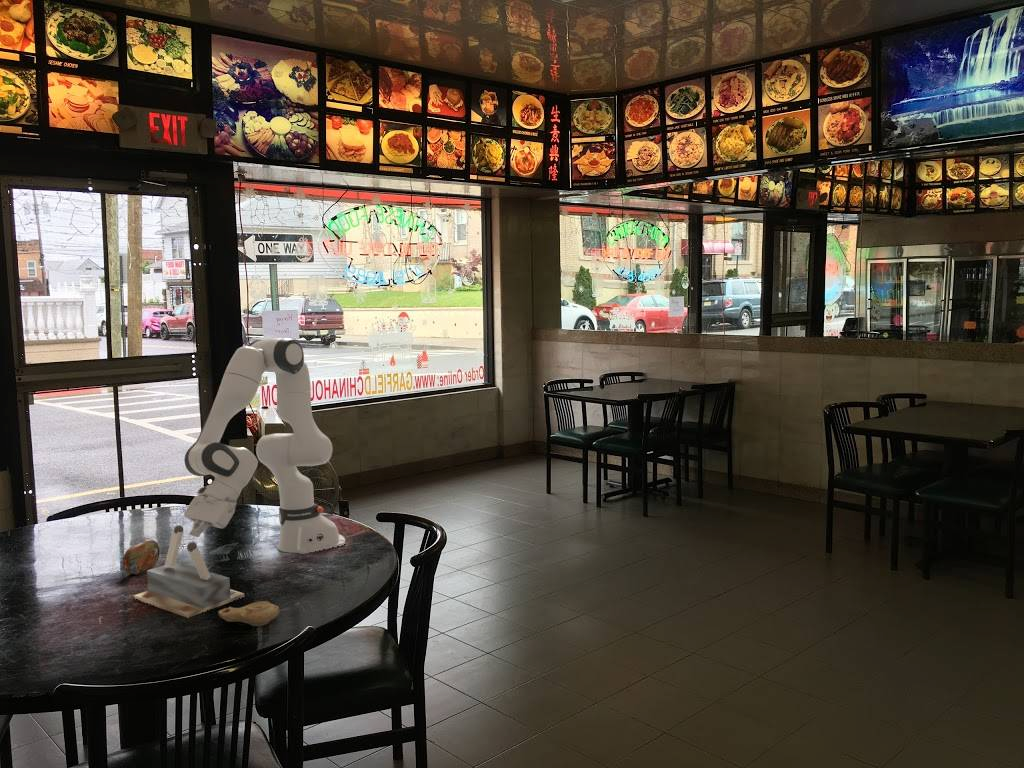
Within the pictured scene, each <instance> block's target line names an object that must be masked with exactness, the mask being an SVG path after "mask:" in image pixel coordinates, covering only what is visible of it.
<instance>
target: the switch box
mask: <svg viewBox="0 0 1024 768" xmlns="http://www.w3.org/2000/svg"><path fill="white" fill-rule="evenodd" d="M208 572H209V574H210V576H211V577H210V578H209V579H208V580H205V579H201V578H200V576H199V574H198V572H197V569H196V567H195V566H194V567H193V566H190V565H187V564H185V563H181V562H177V561H176V564H175V567H171V566H168V565H165V564H164V565H160V566H157V567H154V568H153V567H152V568H149V569H147V570H146V576H147V590H146V591H143V592H140V593H137V594H134V595H133V599H134V598H135V599H134V600H136V599H138V600H137V601H139V600H140V602H142V603H145V604H147V603H148V605H150V604H151V605H150V606H153V605H154V607H157V608H159V609H162V610H164V611H168V612H170V613H172V614H176V615H179V616H182V617H185V618H187V619H189V618H192V617H194V616H196V615H199V614H202V612H203V613H206V612H208V611H210V609H211V610H212V609H216V608H219V607H221V606H224V605H226V604H229V603H233V602H234V600H235V601H237V600H240V599H242V597H243V598H245V593H243V592H240V591H237V590H234V589H231V584H230V583H231V582H230V581H231V580H230V577H227V576H224V575H222V574H217V573H214V572H211V571H208ZM239 598H240V599H239ZM207 610H208V611H207Z"/></svg>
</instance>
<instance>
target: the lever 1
mask: <svg viewBox="0 0 1024 768" xmlns="http://www.w3.org/2000/svg"><path fill="white" fill-rule="evenodd" d="M183 535H184V528H183V526H182V525H176V526H175V527H174V528H173V531H172V533H171V537H170V540H169V541H170V542H169V544H168V545H169V546H168V550H167V553H166V559H165V562H164V565H168V566H171V567H175V564H176V562H177V559H178V555H179V552H180V548H181V545H182V544H181V543H182V539H183Z"/></svg>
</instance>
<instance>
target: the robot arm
mask: <svg viewBox="0 0 1024 768" xmlns="http://www.w3.org/2000/svg"><path fill="white" fill-rule="evenodd" d="M304 354H305V353H304V350H303V346H302V345H301V343H300V342H299V341H298V340H296V339H293V338H289V337H270V338H265V339H256V340H254V341H251V342H250V343H249V344H247V346H241V347H238V348H237V349H236V350H235V352H234V353H233V355H232V357H231V358H230V360H229V363H228V365H227V366H226V369H225V371H224V374H223V377H222V379H221V383H220V385H219V387H218V390H217V394H216V396H215V399H214V401H213V404H212V407H211V408H210V411H209V413H208V415H207V417H206V419H205V422H204V425H203V427H202V428H201V431H200V434H199V436H198V438H197V439H196V441H195V442H194V443H193V444H192V445H191V446H190V447H189V448H188V449H187V450H186V453H185V455H184V465H185V468H186V470H188V472H189V473H190V474H191V475H194V476H196V477H206V476H209V475H211V476H212V477H214V480H213V481H212V482H211V483H210V484H208V485H206V486H203V487H200V488H199V489H198V490H197V492H196V494H197V495H196V496H194V498H193V499H192V500H191V502H190V503H189V505H187V508H186V509H185V511H184V514H183V515H184V518H186V519H187V520H189V521H190V522H193V524H192V528H191V530H190V531H189V535H191V537H195V538H199V537H200V536H201V534H202V533H203V532H205V531H207V530H208V529H209V527H214V528H219V529H225V528H226V527H228V526H227V525H229V523H230V520H231V519H232V518H233V515H234V514H235V512H236V508H237V507H236V506H237V500H238V498H239V496H240V494H241V492H242V490H243V488H244V487H246V486H247V485H248V483H249V482H250V480H251V479H252V477H253V476H254V474H255V472H256V470H257V468H258V466H259V465H258V463H259V462H260V463H261V464H263V465H264V466H266V468H268V469H269V471H270V472H271V473H272V475H273V476H274V479H275V480H276V483H277V487H278V493H279V503H280V506H279V507H278V517H279V518H278V520H279V521H278V522H279V524H280V532H279V539H278V545H277V550H278V551H280V552H285V553H295V554H302V555H306V554H310V552H311V553H315V551H316V552H319V550H320V551H324V550H323V549H325V550H330V549H333V548H332V547H334V548H338V547H337V546H339V547H342V545H343V546H344V544H345V545H346V543H345V542H346V538H345V537H344V536H343V535H342V534H339V530H338V527H337V526H336V524H335V522H334V521H332V520H330V519H329V518H327V517H326V516H324V515H322V513H324V508H323V507H322V505H321V506H320V505H318V504H317V503H315V501H314V500H315V499H314V484H313V482H312V481H311V479H310V478H309V477H308V476H306V475H303V474H302V473H301V472H300V471H299V470H298V468H297V467H314V466H320V465H325V464H326V463H328V462H329V461H330V460H331V458H332V455H333V451H334V449H333V443H332V441H331V440H330V438H329V437H328V436H327V435H326V434H324V432H322V431H321V430H320V429H319V427H318V426H317V423H316V422H315V420H314V416H313V412H312V409H313V408H312V396H311V395H312V394H311V393H312V391H311V390H312V389H311V378H310V371H309V367H308V365H307V363H306V362H305V355H304ZM265 372H267V373H274V374H275V377H276V379H277V380H276V381H277V383H276V413H277V416H278V418H279V419H281V420H282V421H283V422H285V423H287V424H289V425H290V427H291V429H292V431H293V433H292V432H291V433H288V432H287V433H285V432H284V433H282V432H281V433H279V432H278V433H277V432H276V433H271V434H265V435H262V436H261V437H260V438H259V440H257V443H256V447H255V452H256V454H255V453H253V451H252V450H250V449H248V448H246V447H235V446H231V445H227V444H224V443H222V442H221V439H222V437H223V435H224V432H225V430H226V428H227V426H228V423H229V422H230V420H231V419H232V418H233V417H234V416H235V415H237V414H238V413H240V411H242V410H244V409H245V408H246V407H248V406H250V404H251V403H252V402H253V400H254V398H255V396H256V394H257V392H258V389H259V387H260V383H261V380H262V376H263V375H264V373H265ZM329 548H330V549H329Z"/></svg>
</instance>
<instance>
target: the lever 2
mask: <svg viewBox="0 0 1024 768" xmlns="http://www.w3.org/2000/svg"><path fill="white" fill-rule="evenodd" d="M186 549H187V552H188V553H189V556H190V558H191V560H192V563H193V565H194V568H196V569H197V572H198V574H199V576H200V578H201V579H205V580H208V579H209V578H210V577H211V576H210V574H209V572H210V571H209V570H208V567H207V565H206V563H205V560H204V558H203V556H202V554H201V551H200V549H199V547H198V545H197V542H193V541H191V542H188V543H187V544H186Z"/></svg>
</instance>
